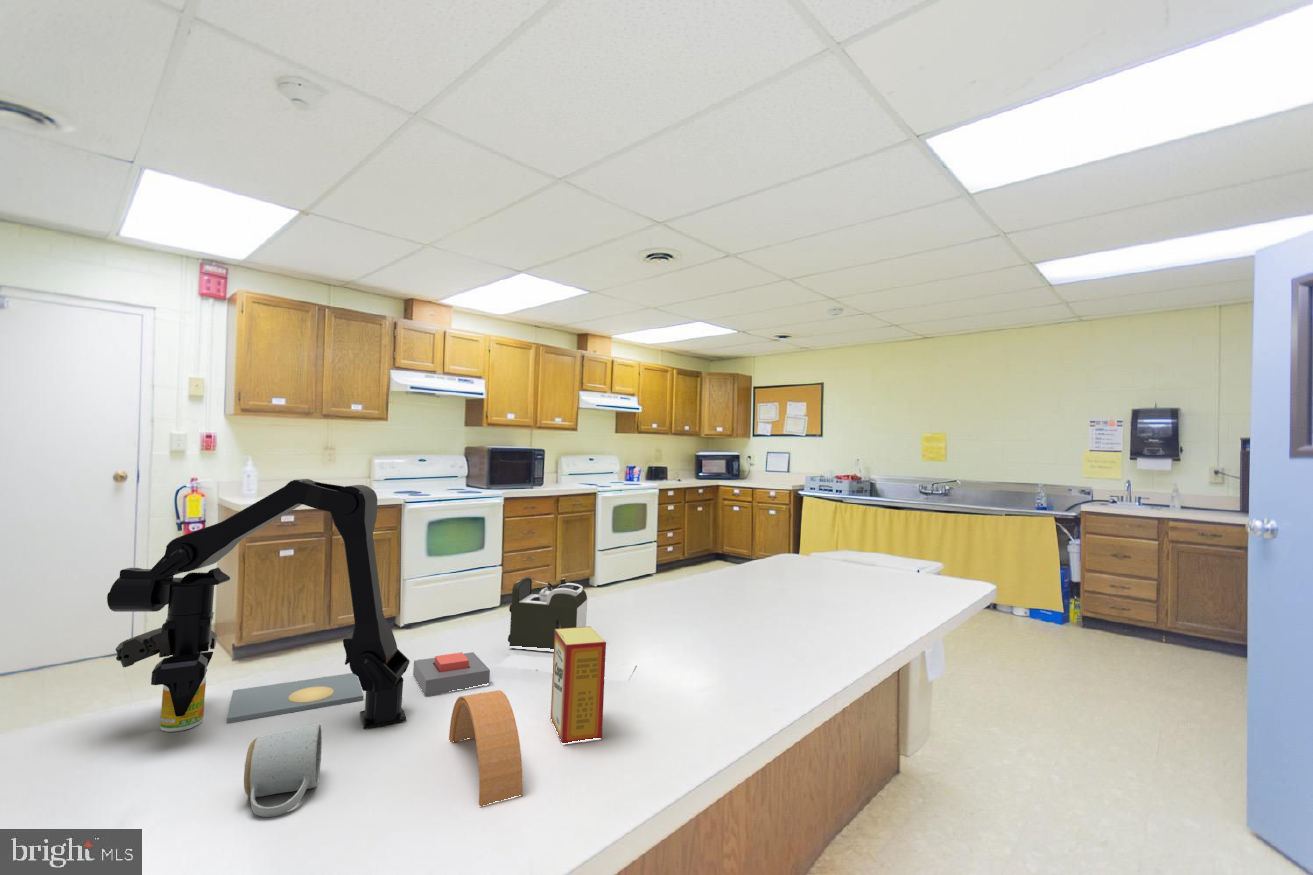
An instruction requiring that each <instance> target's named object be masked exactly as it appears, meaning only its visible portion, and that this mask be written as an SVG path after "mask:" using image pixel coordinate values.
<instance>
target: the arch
mask: <svg viewBox="0 0 1313 875" xmlns="http://www.w3.org/2000/svg"><path fill="white" fill-rule="evenodd" d="M467 738H474V739H475V743H476V744H475V745H476V753H477V764H478V766H477V767H478V806H483V805H487V804H489V803H493V802H495V801H501V800H504V799H508V798H511V797H514V796H519V795H522V796H523V785H524V784H523V782H524V781H523V763H522V762H523V761H522V751H521V742H520V736H519V732H518V726H517V721H516V717H515V713H514V711H513V707H512V705H511V703H510V700H509V699H508V696H507V695H506V693H504V691H503V690H500V689H498V690H493V691H486V692H480V693H474V694H467V695H462V696H459V697H457V699H456V701H455V703H454V706H453V708H452V712H451V717H450V724H449V734H448V741H449V740H450V741H449V743H450V742H453V741H459V742H461V741H460V740H464V739H467ZM464 741H465V740H464ZM453 743H454V742H453Z"/></svg>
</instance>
